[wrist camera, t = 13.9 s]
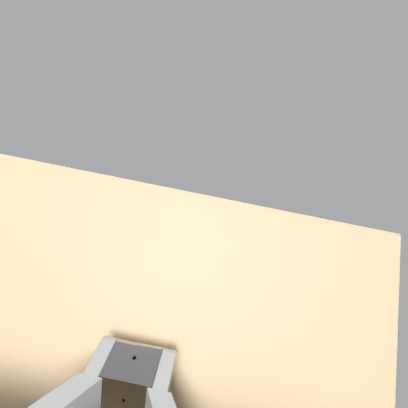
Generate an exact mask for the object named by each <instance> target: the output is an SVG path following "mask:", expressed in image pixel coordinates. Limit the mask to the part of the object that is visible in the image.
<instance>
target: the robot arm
mask: <svg viewBox="0 0 408 408" xmlns="http://www.w3.org/2000/svg"><path fill="white" fill-rule="evenodd" d="M176 353H177V351H176V350H171V349H167V348H163V347H158V346H153V345H148V344H143V343H136V342H132V341H128V340H124V339H120V338H115V337H111V336H106V335H105V336H104V337H103V338H102V339H101V341H100V343H99V345H98V346H97V348H96V350H95V352H94V354H93V356H92V357H91V359H90V361H89V363H88V365H87V367H86V369H85V370H84V372H83V373H78V374H76V375H75V376H73V377H72V378H70V379H69V380H67V381H66V382H64V383H63V384H61V385H60V386H58V387H57V388H56V389H54V390H53V391H51V392H50V393H48V394H47V395H45V396H44V397H42V398H41V399H39V400H38V401H36V402H35V403H33V404H32V405H30V406H29V407H27V408H177V407H176V404H175V401H174V399H173V396H172V393H170V392H169V390H170V386H171V380H172V375H173V369H174V364H175V359H176Z"/></svg>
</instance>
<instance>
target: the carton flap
mask: <svg viewBox="0 0 408 408" xmlns="http://www.w3.org/2000/svg"><path fill="white" fill-rule="evenodd" d="M400 240H401V235H400V234H396V233H391V232H386V231H381V230H376V229H371V228H366V227H361V226H356V225H351V224H346V223H342V222H336V221H331V220H327V219H322V218H317V217H312V216H307V215H301V214H297V213H292V212H287V211H282V210H277V209H272V208H267V207H262V206H257V205H252V204H247V203H242V202H237V201H232V200H227V199H222V198H217V197H212V196H207V195H202V194H197V193H193V192H188V191H182V190H178V189H172V188H168V187H163V186H158V185H153V184H147V183H143V182H138V181H133V180H128V179H123V178H118V177H113V176H108V175H103V174H98V173H93V172H88V171H83V170H78V169H73V168H68V167H63V166H58V165H53V164H48V163H43V162H39V161H33V160H29V159H23V158H19V157H14V156H9V155H3V154H0V408H27V407H29V406H30V405H32V404H33V403H35V402H36V401H38V400H39V399H41V398H42V397H44V396H45V395H47V394H48V393H50V392H51V391H53V390H54V389H56V388H57V387H58V386H60V385H61V384H63V383H64V382H66V381H67V380H69V379H70V378H72V377H73V376H75V375H76V374H78V373H83V372H84V370H85V369H86V367H87V365H88V363H89V361H90V359H91V357H92V356H93V354H94V352H95V350H96V348H97V346H98V345H99V343H100V341H101V339H102V338H103V337H104V336H105V335H106V336H111V337H115V338H120V339H124V340H128V341H132V342H136V343H143V344H148V345H153V346H158V347H163V348H167V349H171V350H176V351H177V353H176V359H175V364H174V369H173V375H172V380H171V386H170V390H169V392H170V393H172V396H173V399H174V401H175V404H176V407H177V408H395V394H396V364H397V334H398V303H399V272H400V243H401V241H400Z"/></svg>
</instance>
